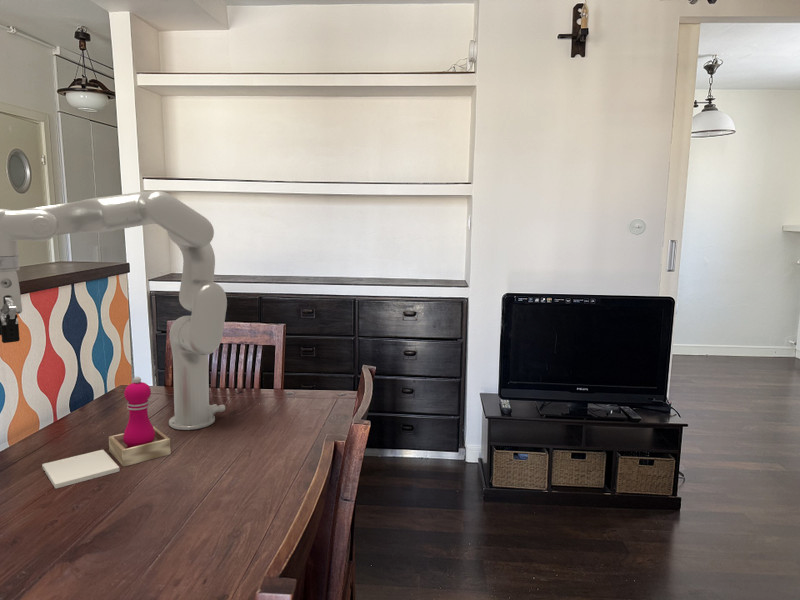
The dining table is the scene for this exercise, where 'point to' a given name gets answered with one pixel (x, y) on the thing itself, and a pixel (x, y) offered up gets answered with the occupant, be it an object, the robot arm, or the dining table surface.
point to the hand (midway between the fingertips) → (4, 338)
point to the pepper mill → (138, 415)
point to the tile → (79, 468)
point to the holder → (139, 449)
